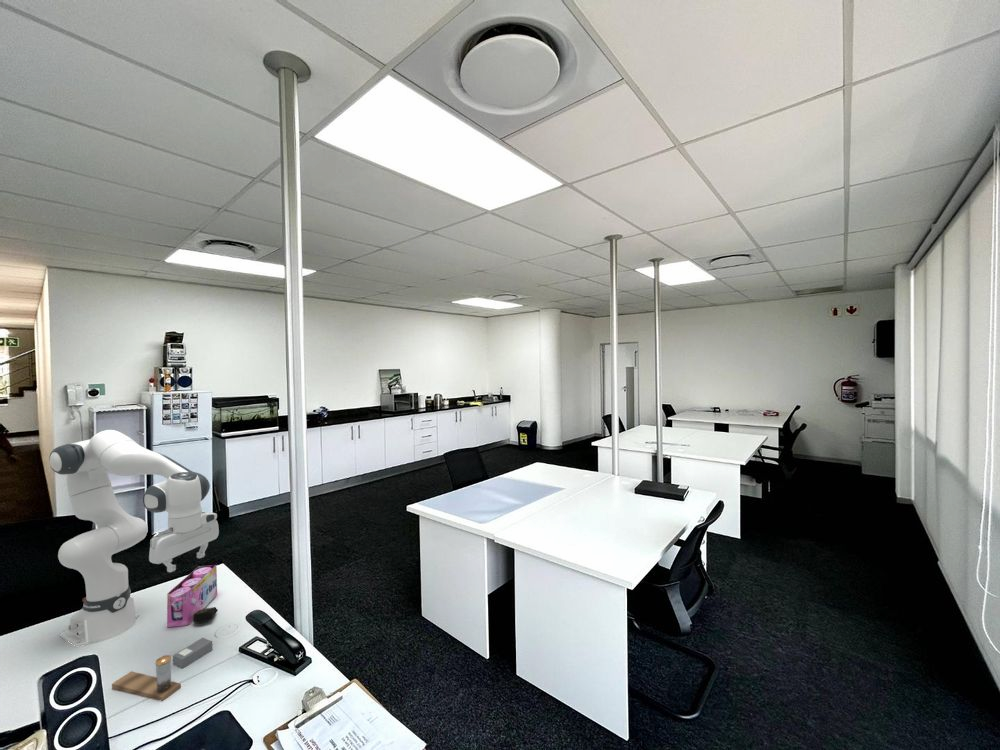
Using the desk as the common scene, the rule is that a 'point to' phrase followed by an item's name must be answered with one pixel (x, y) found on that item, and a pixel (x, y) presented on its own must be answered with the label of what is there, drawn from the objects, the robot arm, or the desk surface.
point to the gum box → (191, 595)
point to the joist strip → (143, 686)
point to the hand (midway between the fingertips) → (186, 564)
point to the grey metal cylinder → (163, 673)
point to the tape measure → (204, 614)
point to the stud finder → (192, 653)
